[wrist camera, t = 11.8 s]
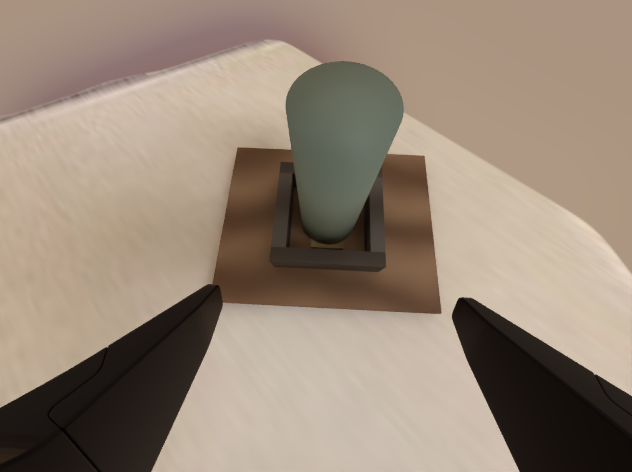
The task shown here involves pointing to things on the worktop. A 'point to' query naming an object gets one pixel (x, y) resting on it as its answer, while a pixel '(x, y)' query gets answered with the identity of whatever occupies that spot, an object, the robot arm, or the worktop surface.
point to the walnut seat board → (320, 259)
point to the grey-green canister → (339, 142)
